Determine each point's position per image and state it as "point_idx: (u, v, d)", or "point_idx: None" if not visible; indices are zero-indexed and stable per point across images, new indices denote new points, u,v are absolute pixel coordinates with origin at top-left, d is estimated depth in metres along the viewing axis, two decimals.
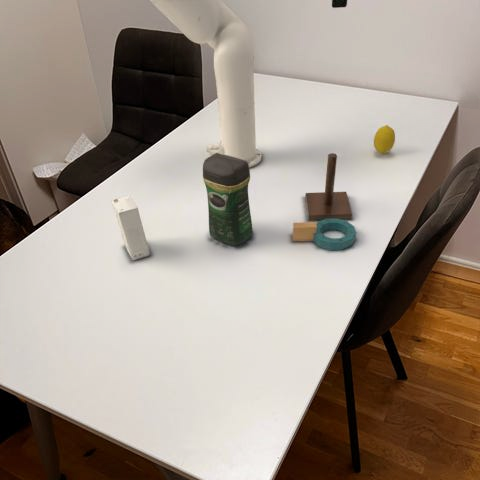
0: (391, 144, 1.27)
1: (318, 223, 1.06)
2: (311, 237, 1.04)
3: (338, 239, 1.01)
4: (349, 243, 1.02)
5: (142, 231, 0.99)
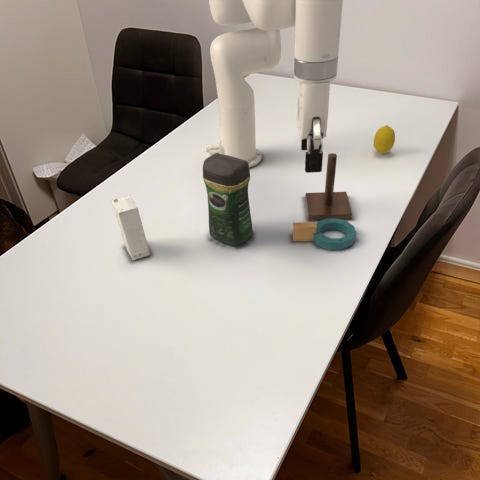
0: (391, 144, 1.27)
1: (318, 223, 1.06)
2: (311, 237, 1.04)
3: (338, 239, 1.01)
4: (349, 243, 1.02)
5: (142, 231, 0.99)
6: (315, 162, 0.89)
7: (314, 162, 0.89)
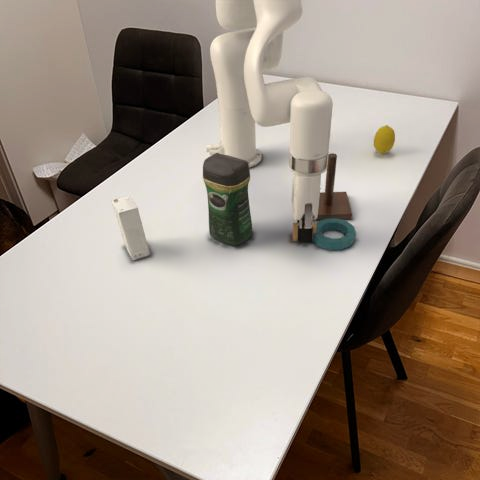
0: (391, 144, 1.27)
1: (318, 223, 1.06)
2: None
3: (338, 239, 1.01)
4: (349, 243, 1.02)
5: (142, 231, 0.99)
6: (306, 235, 1.02)
7: (305, 235, 1.02)
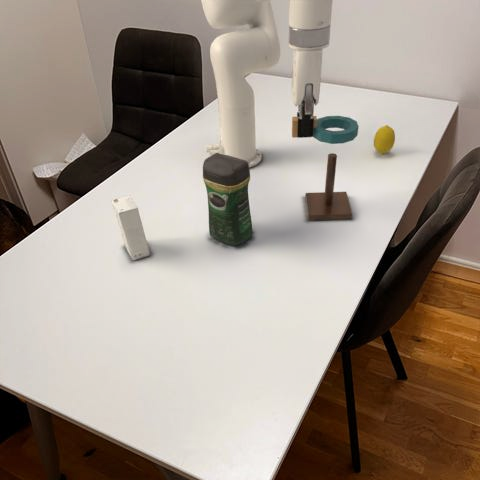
0: (391, 144, 1.27)
1: (318, 119, 1.00)
2: None
3: (340, 131, 0.96)
4: (351, 136, 0.96)
5: (142, 231, 0.99)
6: (306, 127, 0.96)
7: (306, 127, 0.96)
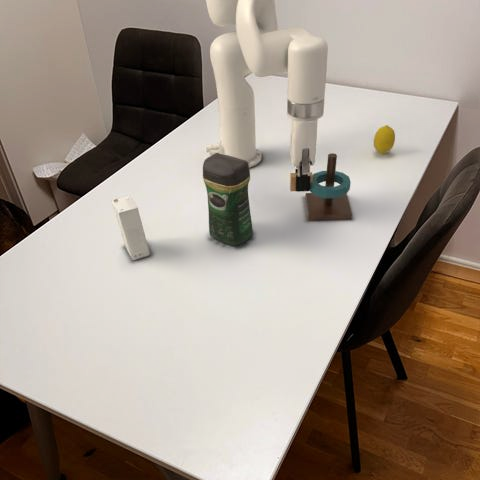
0: (391, 144, 1.27)
1: (314, 174, 1.10)
2: None
3: (333, 187, 1.05)
4: (344, 191, 1.06)
5: (142, 231, 0.99)
6: (304, 183, 1.06)
7: (303, 183, 1.06)
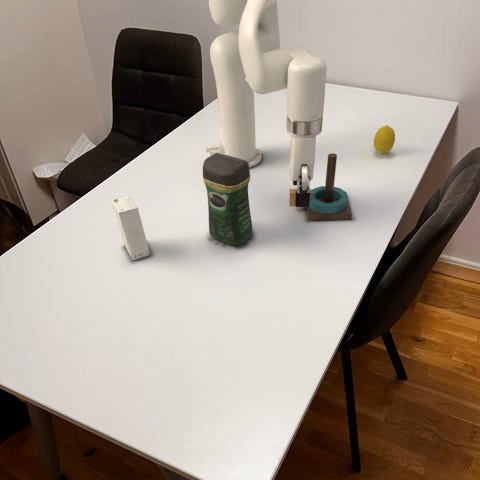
0: (391, 144, 1.27)
1: (313, 190, 1.13)
2: None
3: (331, 203, 1.08)
4: (342, 207, 1.09)
5: (142, 231, 0.99)
6: (303, 199, 1.05)
7: (303, 199, 1.06)
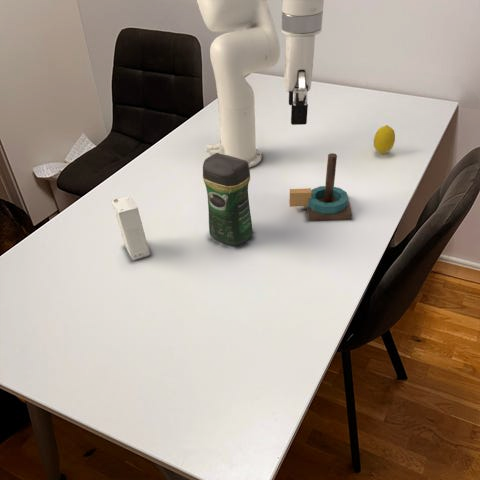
0: (391, 144, 1.27)
1: (313, 190, 1.13)
2: (306, 202, 1.11)
3: (331, 203, 1.08)
4: (342, 207, 1.09)
5: (142, 231, 0.99)
6: (300, 114, 0.95)
7: (299, 114, 0.95)
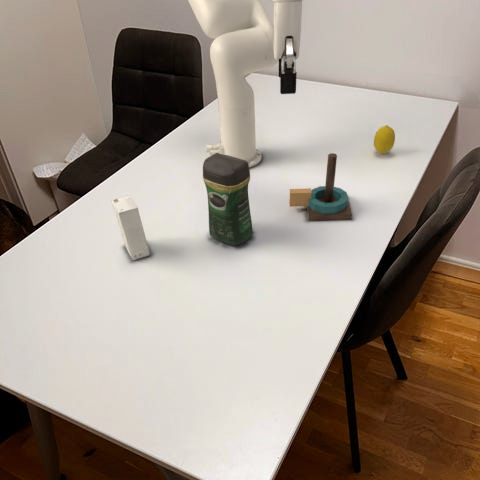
0: (391, 144, 1.27)
1: (313, 190, 1.13)
2: (306, 202, 1.11)
3: (331, 203, 1.08)
4: (342, 207, 1.09)
5: (142, 231, 0.99)
6: (289, 82, 0.94)
7: (288, 82, 0.94)
